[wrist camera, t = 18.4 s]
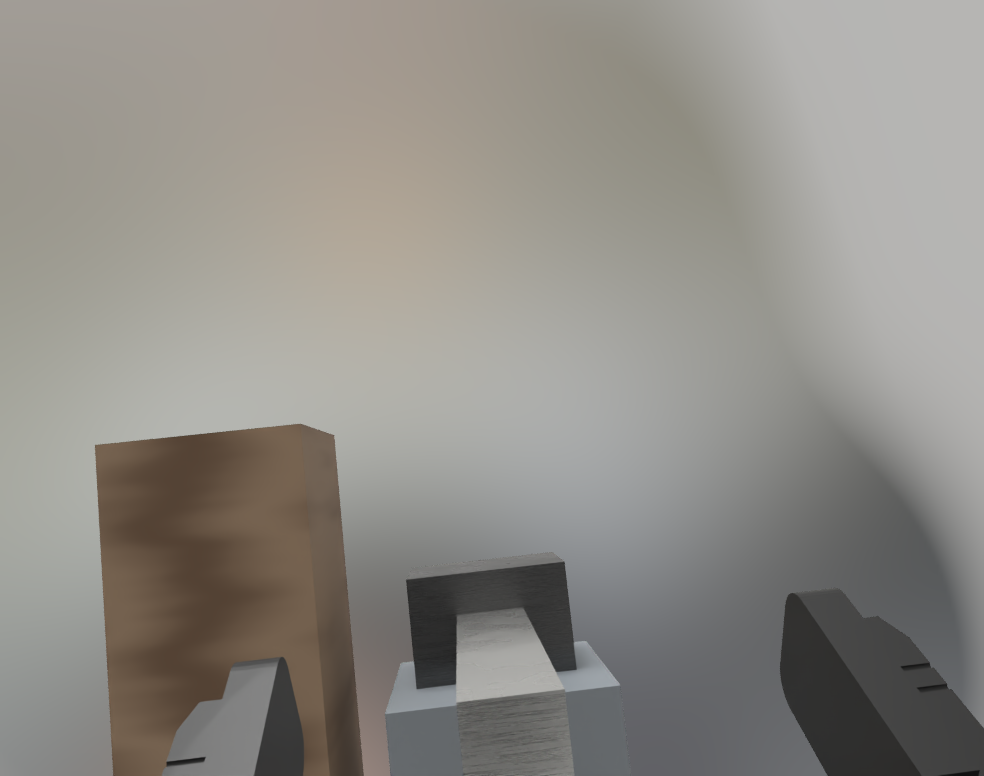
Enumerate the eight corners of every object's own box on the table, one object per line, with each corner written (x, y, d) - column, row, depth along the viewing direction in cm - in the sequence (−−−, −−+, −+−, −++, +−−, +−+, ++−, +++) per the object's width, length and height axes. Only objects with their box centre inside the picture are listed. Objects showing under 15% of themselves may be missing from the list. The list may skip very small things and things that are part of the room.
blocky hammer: (389, 827, 18) (373, 644, 19) (421, 664, 34) (411, 568, 35) (653, 792, 19) (631, 614, 19) (563, 647, 34) (552, 551, 35)
